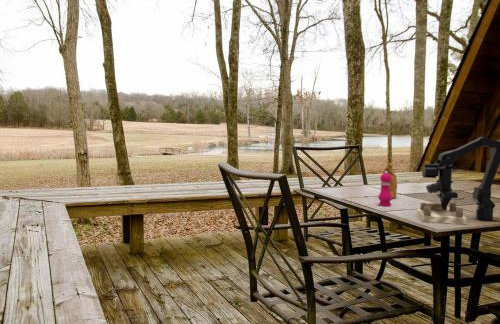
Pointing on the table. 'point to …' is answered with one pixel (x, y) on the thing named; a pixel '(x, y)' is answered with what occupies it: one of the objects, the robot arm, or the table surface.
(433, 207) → the hinged leg
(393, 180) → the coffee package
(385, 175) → the pepper mill
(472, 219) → the table surface
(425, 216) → the stool seat
